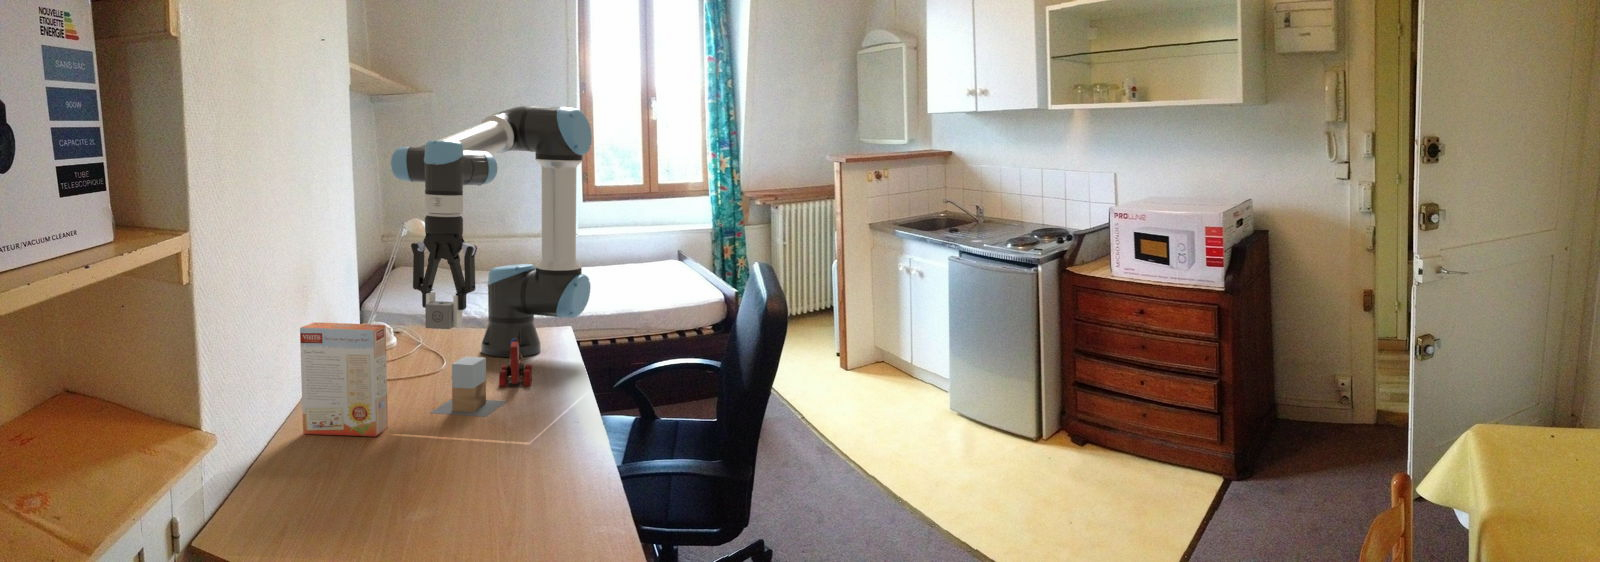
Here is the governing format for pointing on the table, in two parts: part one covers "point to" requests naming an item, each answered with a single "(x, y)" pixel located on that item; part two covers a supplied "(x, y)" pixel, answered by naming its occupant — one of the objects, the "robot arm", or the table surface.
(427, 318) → the dice cube
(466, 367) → the tower mid
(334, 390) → the cracker box
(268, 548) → the table surface
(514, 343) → the toy fire truck
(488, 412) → the mat
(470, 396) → the tower base
